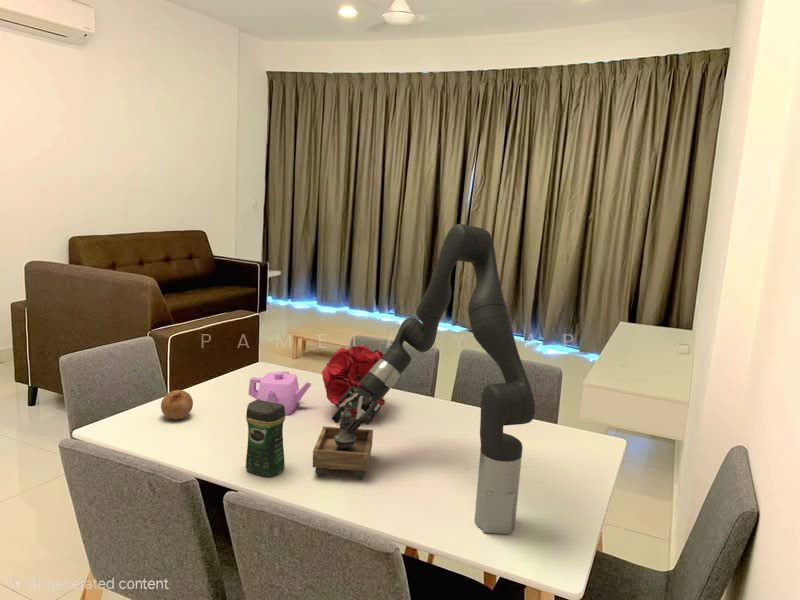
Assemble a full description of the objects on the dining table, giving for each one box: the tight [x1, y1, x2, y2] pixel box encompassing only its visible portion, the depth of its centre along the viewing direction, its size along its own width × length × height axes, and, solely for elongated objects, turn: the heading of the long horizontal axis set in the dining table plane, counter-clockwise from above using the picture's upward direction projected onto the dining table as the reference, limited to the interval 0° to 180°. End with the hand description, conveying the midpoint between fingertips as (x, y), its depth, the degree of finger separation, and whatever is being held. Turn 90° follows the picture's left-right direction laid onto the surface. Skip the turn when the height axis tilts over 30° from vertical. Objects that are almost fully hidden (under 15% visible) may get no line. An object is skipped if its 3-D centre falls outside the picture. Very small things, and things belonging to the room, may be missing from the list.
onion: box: [160, 389, 194, 421], centre depth 183 cm, size 10×9×10 cm
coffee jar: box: [245, 399, 286, 477], centre depth 152 cm, size 10×8×19 cm
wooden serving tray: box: [312, 426, 374, 480], centre depth 157 cm, size 16×14×8 cm
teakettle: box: [248, 370, 312, 416], centre depth 196 cm, size 17×17×12 cm
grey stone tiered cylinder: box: [334, 408, 356, 452], centre depth 156 cm, size 6×6×12 cm
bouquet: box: [321, 345, 386, 417], centre depth 198 cm, size 22×24×30 cm
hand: (341, 426), depth 155 cm, fingers open, 8 cm apart
